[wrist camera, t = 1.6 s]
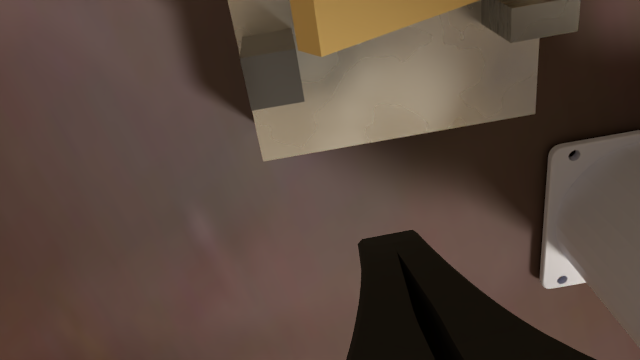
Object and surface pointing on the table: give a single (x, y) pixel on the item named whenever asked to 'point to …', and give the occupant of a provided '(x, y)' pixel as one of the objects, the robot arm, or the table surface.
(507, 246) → the table surface
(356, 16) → the golden yellow flat bar
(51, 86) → the table surface
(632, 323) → the robot arm
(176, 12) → the table surface
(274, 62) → the lug
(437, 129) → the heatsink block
